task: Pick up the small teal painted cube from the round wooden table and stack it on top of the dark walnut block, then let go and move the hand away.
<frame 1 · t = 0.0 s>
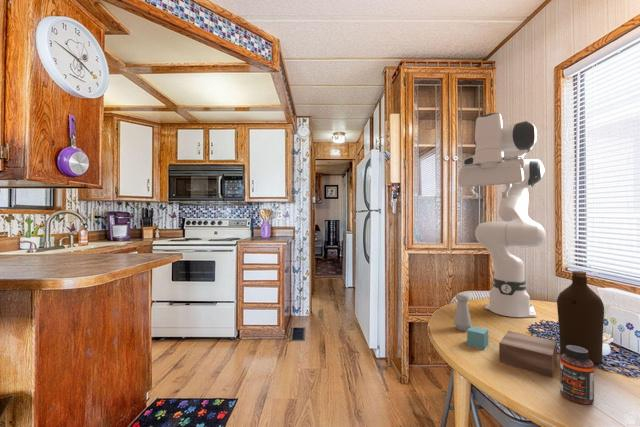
hand: (489, 198, 108), 48 cm above the table, tool pointing down, fingers open, 8 cm apart
teal cube: (477, 345, 98), on the table
supplement bottle: (576, 398, 70), on the table
olive oil: (580, 357, 90), on the table
salt shaker: (462, 329, 112), on the table
walnut block: (528, 363, 87), on the table
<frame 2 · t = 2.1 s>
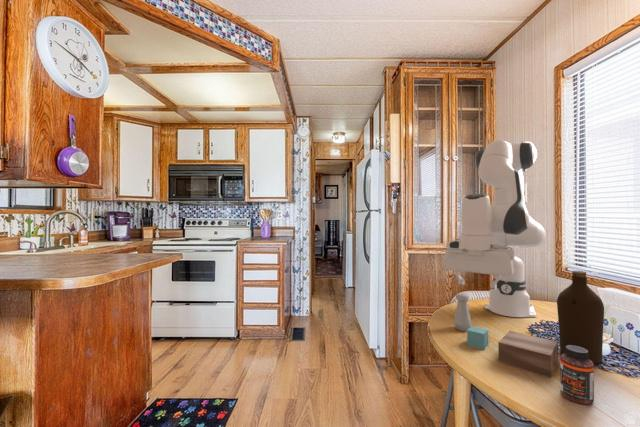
hand: (477, 286, 98), 19 cm above the table, tool pointing down, fingers open, 8 cm apart
nothing on the table moved.
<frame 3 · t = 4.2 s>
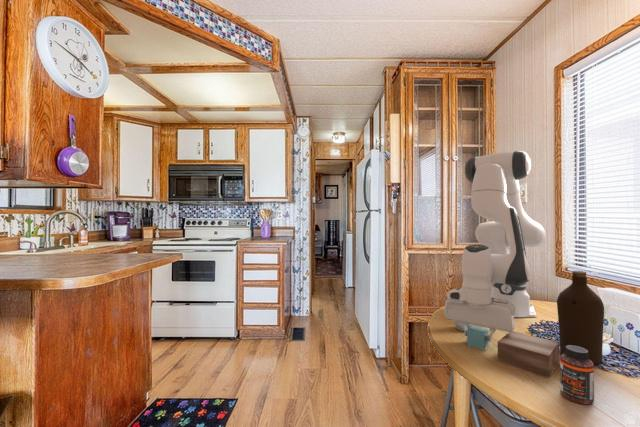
hand: (477, 338, 98), 2 cm above the table, tool pointing down, fingers closed on teal cube, 5 cm apart
teal cube: (477, 344, 98), on the table, touching gripper
everything else where it was.
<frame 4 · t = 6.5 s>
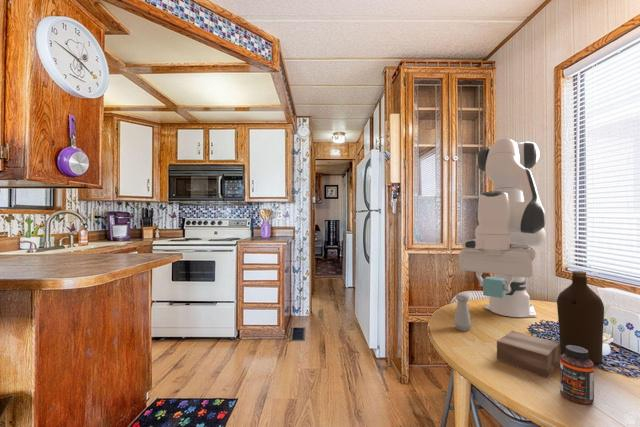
hand: (494, 288, 94), 19 cm above the table, tool pointing down, fingers closed on teal cube, 5 cm apart
teal cube: (494, 295, 94), point 17 cm above the table, touching gripper
everything else where it was.
when the fingers open (9 cm above the table, at t = 8.7 s): teal cube drops 1 cm, resting on walnut block.
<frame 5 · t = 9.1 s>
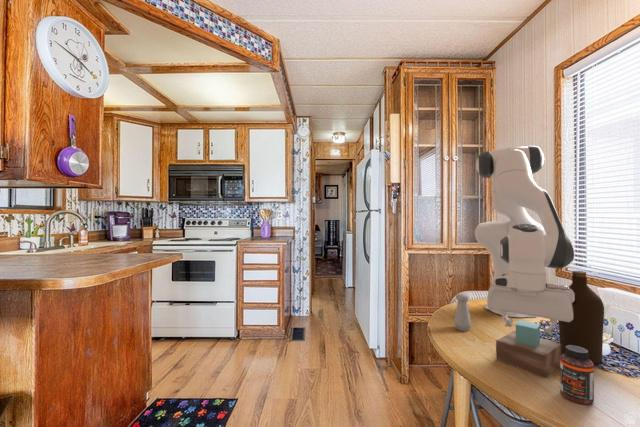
hand: (527, 329, 87), 9 cm above the table, tool pointing down, fingers open, 8 cm apart
teal cube: (527, 342, 87), point 6 cm above the table, touching walnut block
walnut block: (528, 363, 87), on the table, touching teal cube
everything else where it was.
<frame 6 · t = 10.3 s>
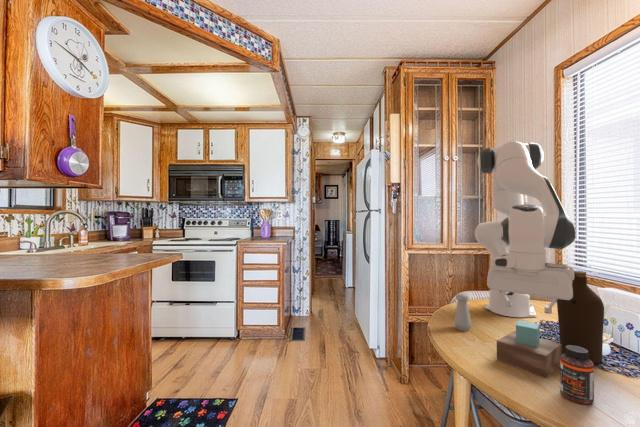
hand: (527, 309, 87), 15 cm above the table, tool pointing down, fingers open, 8 cm apart
teal cube: (527, 342, 87), point 6 cm above the table
walnut block: (528, 363, 87), on the table
everything else where it was.
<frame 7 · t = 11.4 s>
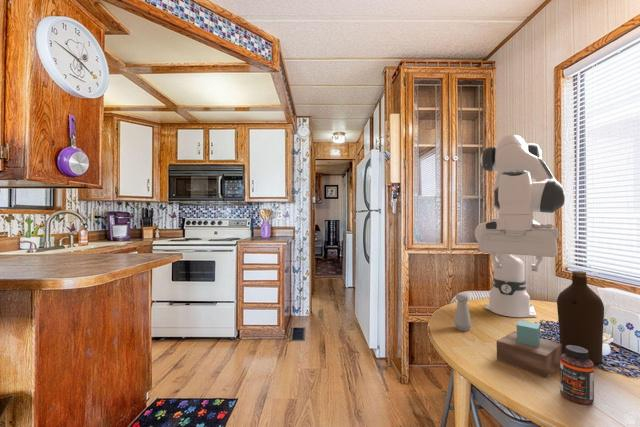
hand: (516, 269, 93), 25 cm above the table, tool pointing down, fingers open, 8 cm apart
teal cube: (528, 342, 87), point 6 cm above the table, touching walnut block
walnut block: (528, 363, 87), on the table, touching teal cube
everything else where it was.
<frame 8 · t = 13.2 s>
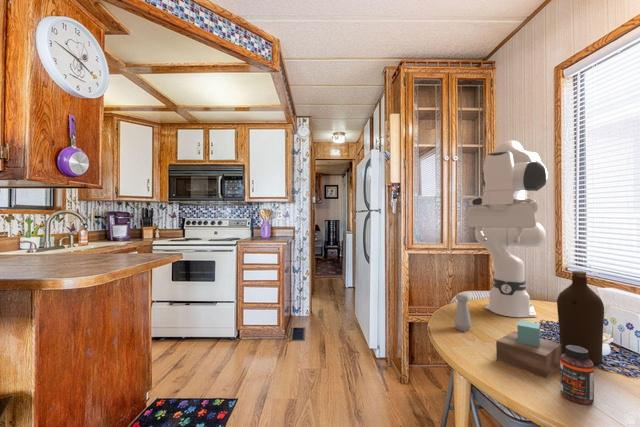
hand: (499, 241, 101), 33 cm above the table, tool pointing down, fingers open, 8 cm apart
nothing on the table moved.
at the end: teal cube inside the target area on the walnut block (0.5 cm from its centre), point 6.0 cm above the walnut block's base; teal cube tilted 0°; the gripper is holding nothing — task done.
